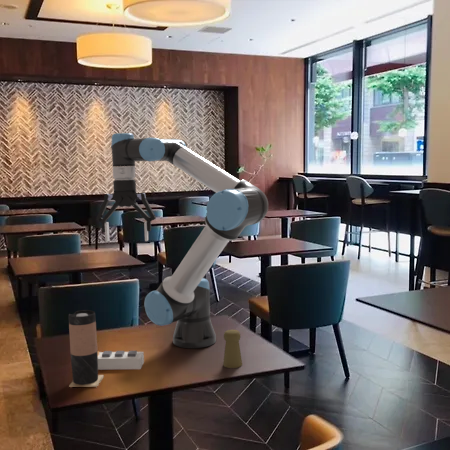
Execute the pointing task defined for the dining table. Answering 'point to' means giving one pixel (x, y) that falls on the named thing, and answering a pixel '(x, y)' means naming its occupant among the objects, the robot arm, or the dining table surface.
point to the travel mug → (83, 347)
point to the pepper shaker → (232, 349)
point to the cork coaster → (88, 384)
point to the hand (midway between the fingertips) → (127, 241)
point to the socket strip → (120, 360)
